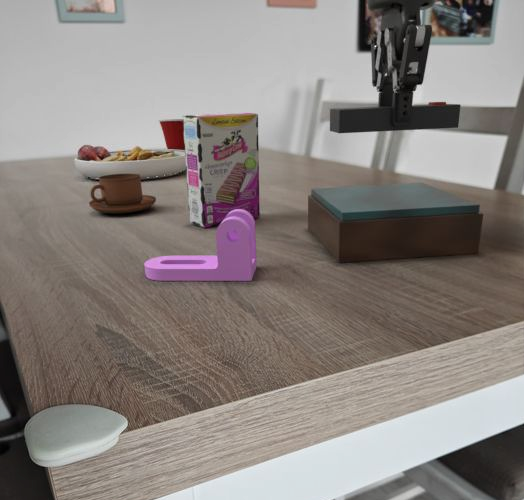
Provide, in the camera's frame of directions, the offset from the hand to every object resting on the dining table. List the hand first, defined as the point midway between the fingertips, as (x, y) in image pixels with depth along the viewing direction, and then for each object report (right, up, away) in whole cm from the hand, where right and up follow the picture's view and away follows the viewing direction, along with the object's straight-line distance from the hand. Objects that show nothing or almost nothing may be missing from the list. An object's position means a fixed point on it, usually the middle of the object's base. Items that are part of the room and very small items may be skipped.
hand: (393, 124), depth 69 cm
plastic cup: (-44, +35, +113) cm, 127 cm away
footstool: (+1, -13, +9) cm, 15 cm away
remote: (0, 0, 0) cm, 1 cm away
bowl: (-50, +19, +79) cm, 96 cm away
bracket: (-24, -19, -3) cm, 31 cm away
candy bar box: (-22, -7, +23) cm, 33 cm away
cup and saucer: (-42, -2, +34) cm, 54 cm away
